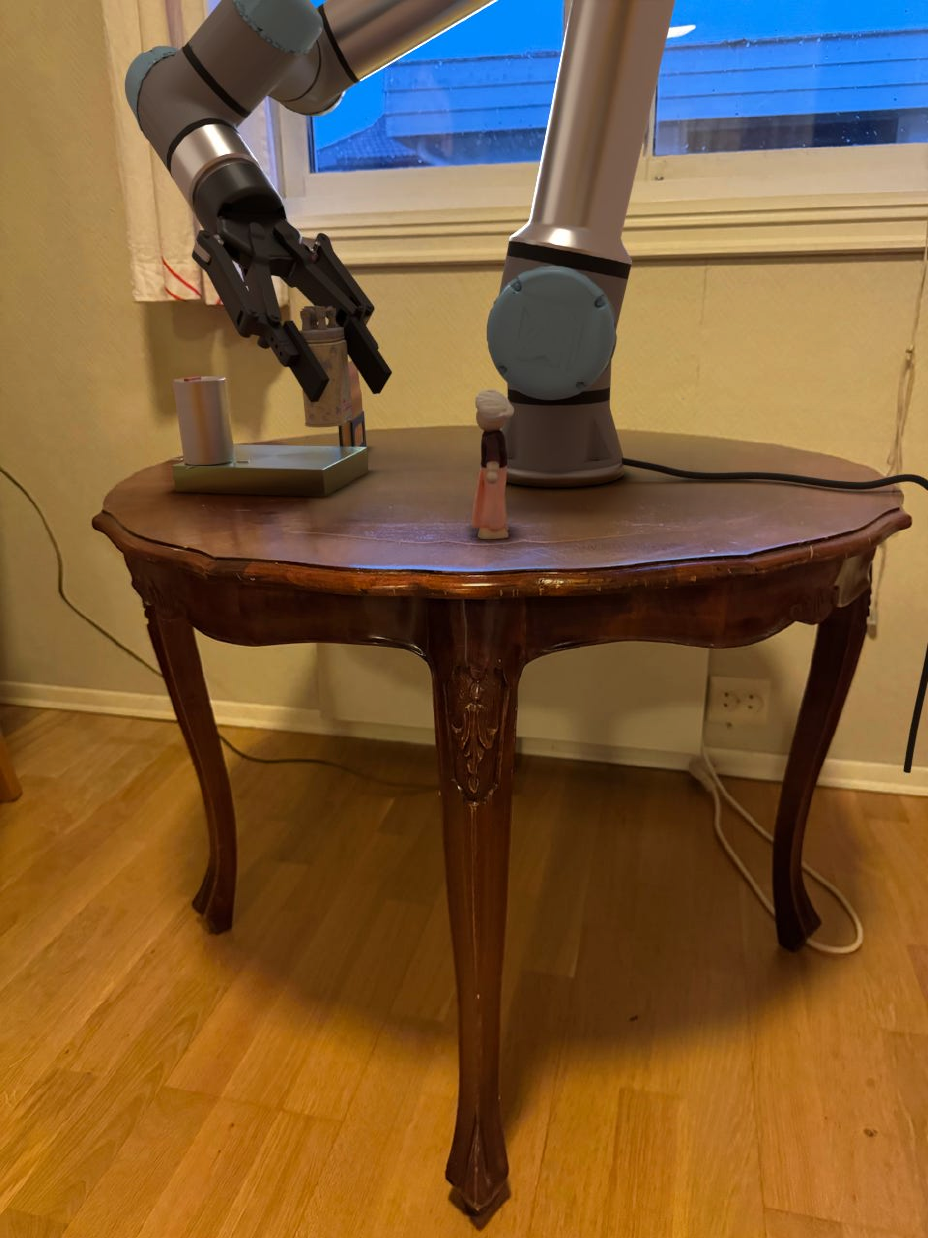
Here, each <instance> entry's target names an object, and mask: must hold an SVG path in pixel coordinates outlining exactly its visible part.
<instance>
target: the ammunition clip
mask: <svg viewBox="0 0 928 1238" xmlns="http://www.w3.org/2000/svg"><path fill="white" fill-rule="evenodd" d="M348 367H349V380H350V394H351V407H352V415H353V418H352V422H348V423H345V424H344V425H340V426H337V429H338V441H339V447H367V433H366V419H365V410H364V409H363V397H362V395H363V394H362V389H361V382H360V373H359V371H358V369H357V368H356V366H355V365H354V363H353V362H352V360H350V361H348ZM367 448H368V447H367Z"/></svg>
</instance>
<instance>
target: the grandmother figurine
mask: <svg viewBox="0 0 928 1238" xmlns="http://www.w3.org/2000/svg"><path fill="white" fill-rule="evenodd" d="M474 403H475V408H476V409H477V411H476V413H475V420H476V424H477V426H478V427H479V428H480V429H481V430H482V431H483V432H482V433H481V440H480V456H481V457H480V468H479V472H478V476H477V480H476V486H475V491H474V497H473V502H472V511H471V522H470V523H471V527H472V528H474V529H475V528H476V529H479V530H478V533H477V538H478V539H481V540H502V539H506V538H509V536H510V535H509V530H510V527H509V525H508V524H507V522H506V520H507V505H506V499H505V490H506V486H507V485H506V484H507V482H506V467H507V451H506V444H505V437H504V435H503V433H502V431H501V428H502V427H503V426H504V424H505V420H506V418H510V417H511V416H512V415H513V414H514V408H513V407H512V405H511V404H510V402H509V400H508V398H507V396H505V394H503V393H501V392H500V391H498V390H496V389H493V388H490V389H484V390H481V391H480V392H479V393H478V394H477V395H476V397H475V401H474Z"/></svg>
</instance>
